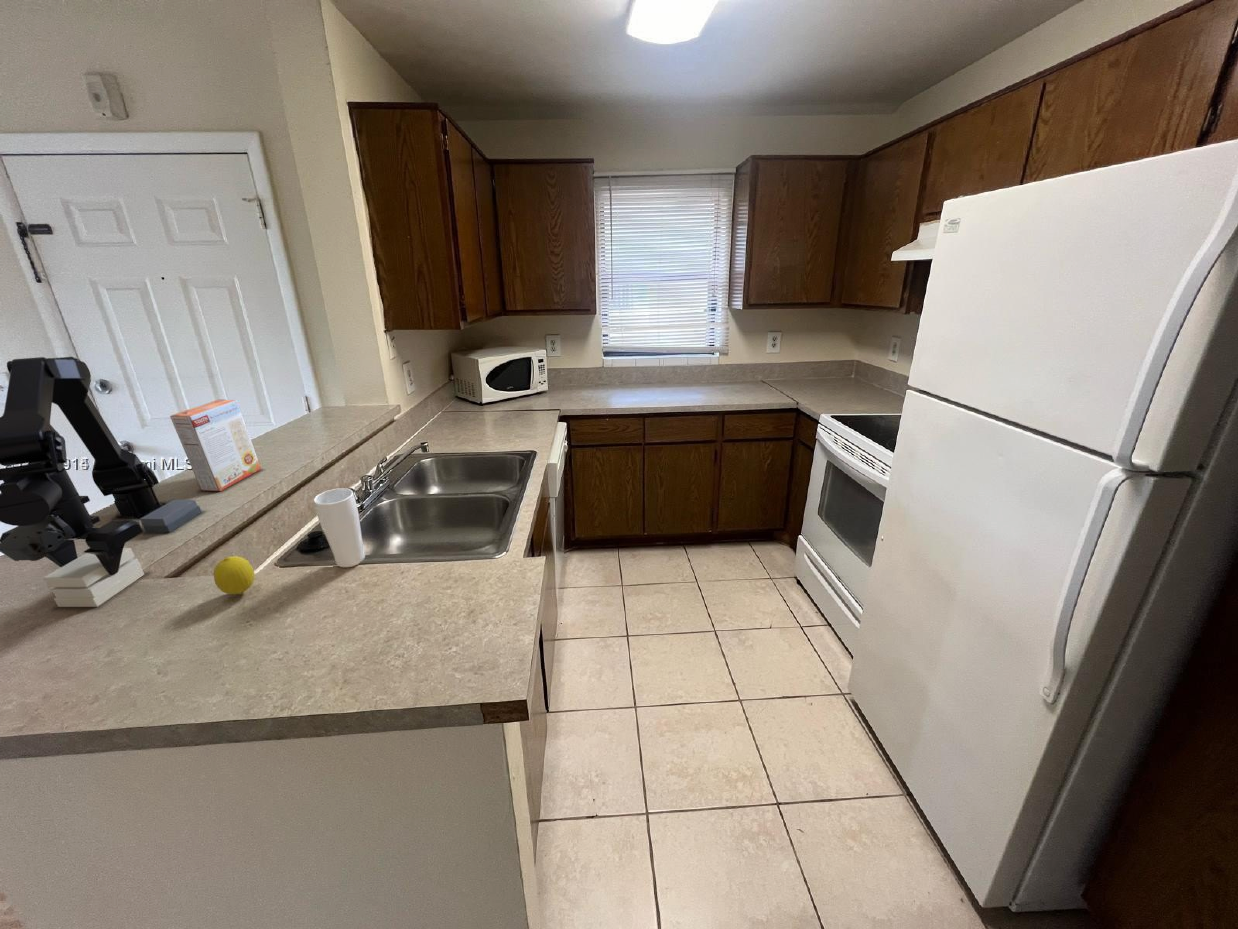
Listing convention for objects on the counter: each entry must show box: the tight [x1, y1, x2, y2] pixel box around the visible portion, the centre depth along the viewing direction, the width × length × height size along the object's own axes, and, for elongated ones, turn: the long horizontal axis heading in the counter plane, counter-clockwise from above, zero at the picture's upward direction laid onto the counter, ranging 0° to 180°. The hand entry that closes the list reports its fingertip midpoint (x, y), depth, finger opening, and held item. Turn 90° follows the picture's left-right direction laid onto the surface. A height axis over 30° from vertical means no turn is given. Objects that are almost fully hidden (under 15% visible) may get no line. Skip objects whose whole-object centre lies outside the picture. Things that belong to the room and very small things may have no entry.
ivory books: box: [51, 558, 145, 608], centre depth 86 cm, size 9×7×4 cm
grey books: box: [139, 499, 202, 534], centre depth 108 cm, size 9×5×4 cm, turn 1°
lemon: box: [213, 555, 255, 595], centre depth 85 cm, size 6×6×8 cm
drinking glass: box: [313, 487, 366, 568], centre depth 93 cm, size 7×7×15 cm
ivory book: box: [42, 547, 136, 588], centre depth 85 cm, size 9×7×2 cm
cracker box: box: [169, 398, 262, 492], centre depth 125 cm, size 14×6×21 cm, turn 174°
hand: (95, 573), depth 86 cm, fingers closed on ivory book, 6 cm apart
